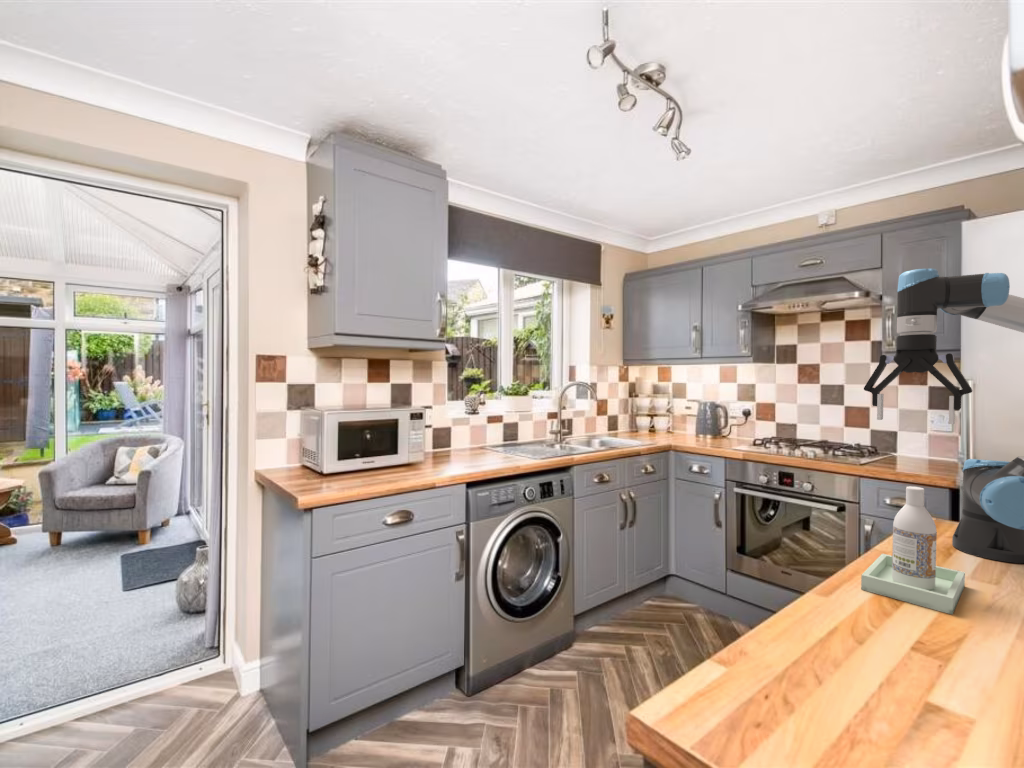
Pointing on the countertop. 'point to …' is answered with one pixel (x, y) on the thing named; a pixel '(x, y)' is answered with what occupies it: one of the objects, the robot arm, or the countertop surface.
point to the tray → (938, 598)
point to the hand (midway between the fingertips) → (914, 421)
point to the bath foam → (914, 543)
